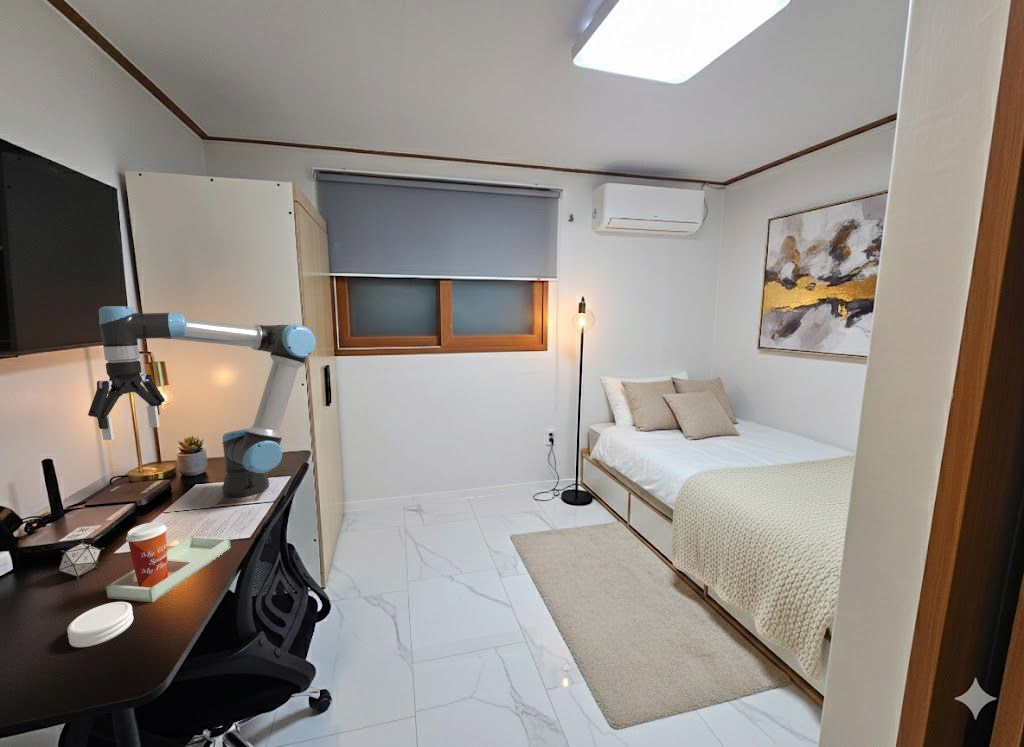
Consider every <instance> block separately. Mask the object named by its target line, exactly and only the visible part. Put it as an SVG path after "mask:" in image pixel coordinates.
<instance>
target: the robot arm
mask: <svg viewBox="0 0 1024 747" xmlns="http://www.w3.org/2000/svg"><path fill="white" fill-rule="evenodd" d="M98 317H99V318H98V319H99V322H98V324H99V329H100V336H101V341H102V348H103V349H102V350H103V356H104V360H105V361H107V362H106V363H105V369H106V370H105V372H106V375H107V376H108V378H109V379H108V380H97V381H96V390H95V393H94V396H93V399H92V402H91V404H90V407H89V410H88V413H87V416H89V417H93V418H97V423H98V424H97V425H98V428H99V430H101V434H102V440H103V441H113V440H115V434H114V433H115V432H114V429H113V428H114V427H113V426H114V425H113V419H112V416H110V413H111V411H112V410H113V407H114V406H115V404H116V403H117V401H118V400H119V398H120V397H121V396H123V395H126V394H129V393H135V394H136V395H138V396H139V397H140V398H142V400H143V401H145V402H146V403H147V404H148V405H147V406H146V410H147V417H148V425H149V428H159V427H160V419H159V416H160V414H161V412H160V406H162V404H163V403H164V402H165V401H166V400H165V398H164V396H163V395H162V393H161V392H160V390H159V389H158V386H156V384H155V383H154V380H153V377H152V375H151V374H149V373H148V374H145V373H142V364H141V361H140V360H139V359H140V357H141V355H140V349H139V343H138V340H145V339H146V340H147V339H162V340H163V339H164V340H175V341H187V342H195V343H196V342H197V343H205V344H206V343H207V344H216V345H217V344H218V345H227V346H235V347H236V346H239V347H248V348H251V349H252V350H253V351H261V352H265V353H270V355H269V356H270V358H271V360H272V365H271V368H270V370H269V375H268V377H267V380H266V383H265V386H264V389H263V392H262V396H261V399H260V402H259V406H258V409H257V412H256V416H255V418H254V421H253V425H252V426H251V427H249V428H243V429H238V430H232V431H229V432H226V433H224V434H223V435H222V448H223V456H224V457H223V458H224V464H225V472H226V473H225V476H224V480H223V485H222V495H223V497H226V498H242V497H249V496H252V495H253V496H254V495H257V494H259V493H261V492H263V491H265V490H267V489H268V488H269V487H270V480H269V478H268V477H267V475H266V473H268V472H270V471H272V470H274V469H275V468H276V467H277V466H279V464H280V462H281V461H282V458H283V449H282V446H281V442H282V440H283V439H282V438H283V435H282V434H281V432H280V429H281V427H282V422H283V419H284V417H285V413H286V411H287V406H288V403H289V400H290V396H291V393H292V391H293V387H294V383H295V380H296V377H297V375H298V372H299V369H300V368H302V367H303V366H305V364H306V359H307V357H308V356H310V355H312V353H313V352H314V351H315V349H316V344H317V342H316V341H317V340H316V338H315V337H316V336H315V335H314V334H313V331H311V329H309V328H308V327H306V326H305V325H301V324H296V323H295V324H276V325H275V324H274V325H273V324H272V325H270V324H269V325H263V324H254V325H253V326H250V325H243V324H234V323H225V322H219V321H217V322H216V321H209V320H202V319H195V318H188V317H185V316H184V315H183V314H182V313H180V312H152V313H150V312H149V313H148V312H146V313H138V312H135V311H134V308H133V307H132V306H124V305H123V306H120V305H118V306H117V305H116V306H113V305H111V306H108V305H107V306H101V307H100V308H99V309H98ZM141 373H142V374H141ZM141 383H142V384H141Z"/></svg>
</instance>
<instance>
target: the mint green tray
mask: <svg viewBox="0 0 1024 747" xmlns="http://www.w3.org/2000/svg"><path fill="white" fill-rule="evenodd" d="M230 548H231V549H232V546H231V539H230V538H227V537H226V538H225V537H212V536H211V537H209V536H195V535H194V536H193V535H191V536H190V537H188V538H187V539H185V540H183V541H181V542H180V543H178V544H176V545H174V546H173V547H171V548H169V549H168V550H167V567H168V577H167V578H166V579H164V580H163V581H161V582H160V583H158V584H156V585H155V586H153V587H152V588H149V587H139V585H138V582H137V578H136V574H135V569H133V570H132V571H130V572H128V573H126V574H124V575H123V576H121V577H119V578H118V579H116V580H114V581H112V582H111V583H109V584H107V585H106V586H105V590H106V596H107V599H112V600H113V599H116V600H124V601H125V600H126V601H134V602H135V601H137V602H146V603H154V602H156V601H157V600H159V598H161V597H162V596H164V595H166V594H167V593H168V592H171V591H172V590H173V589H174V588H176V587H177V586H178V585H180V584H181V583H183V582H185V581H186V580H188V578H191V577H192V576H193V575H194V574H196V573H197V572H199V571H200V570H202V569H203V568H205V567H206V566H208V565H209V564H211V563H213V562H214V561H215V560H217V559H218V558H219V557H221V556H222V555H224V554H225V553H226V551H227V550H228V551H230V550H231V549H230ZM229 549H230V550H229ZM228 551H227V552H228ZM224 552H225V553H224ZM223 553H224V554H223ZM220 555H221V556H220ZM217 557H218V558H217ZM216 558H217V559H216ZM213 560H214V561H213Z"/></svg>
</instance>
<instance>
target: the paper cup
mask: <svg viewBox="0 0 1024 747" xmlns="http://www.w3.org/2000/svg"><path fill="white" fill-rule="evenodd" d="M167 530H168V527H167V526H166V525H165V524H164V523H163V522H161V521H152V522H146V523H143V524H139V525H136V526H134V527H132V528H131V529H130V530H129V531H127V535H126V538H125V541H127V542H128V547H129V551H130V556H131V559H132V564H133V568H134V569H133V570H135V574H136V578H137V582H138V585H139V587H149V588H152V587H153V586H155V585H156V584H158V583H160V582H161V581H163V580H164V579H166V578H167V577H168V567H167V535H166V534H167V532H166V531H167Z"/></svg>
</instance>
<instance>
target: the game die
mask: <svg viewBox="0 0 1024 747" xmlns="http://www.w3.org/2000/svg"><path fill="white" fill-rule="evenodd" d="M84 542H85V541H84V540H83V539H82V540H81V541H80V543H79V544H78V545H76V546H74V547H72V548H70V549H68V550H66V551H65V550H61V553H63V555H61V562H60V564H59V567H58V569H55V571H54V574H55V573H58V572H61V573H65V574H67V575H71V576H74V577H76V580H77V581H79V580H80V576H82V575H84V574H85V573H88V572H89V571H91V570H92V569H99V567H98V566H97V565H98V564H100V563H99V561H98V560H99V557H100V554H101V551H104V549H105V547H101V548H98V547H95V546H92V545H89V544H87V543H84Z"/></svg>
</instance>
